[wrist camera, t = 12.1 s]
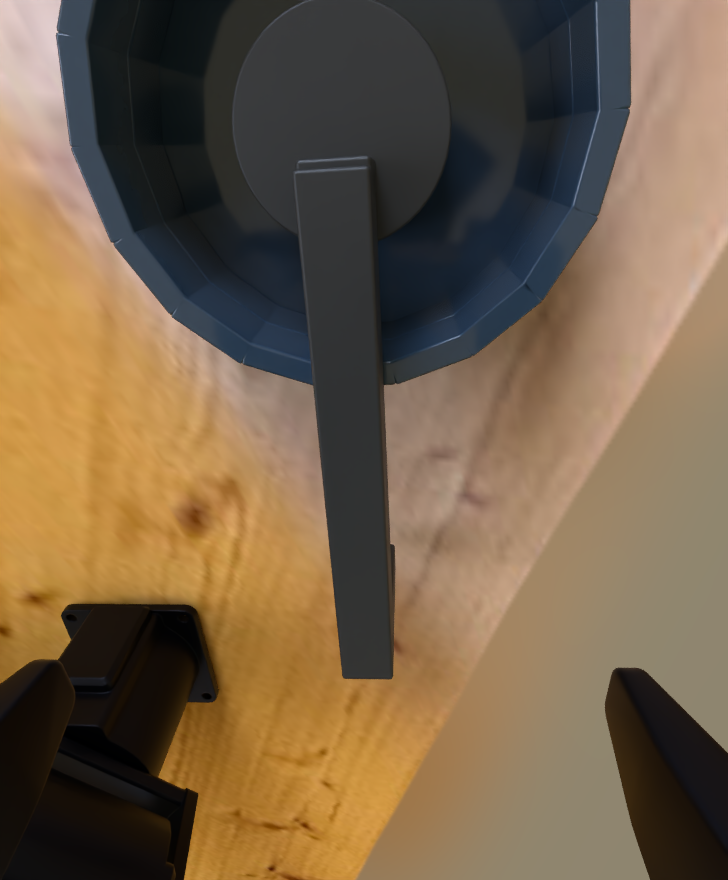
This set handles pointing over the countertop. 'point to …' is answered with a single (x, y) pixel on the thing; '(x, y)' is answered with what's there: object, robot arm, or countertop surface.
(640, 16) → the countertop surface
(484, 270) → the bowl
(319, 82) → the dark grey handle
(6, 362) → the countertop surface
